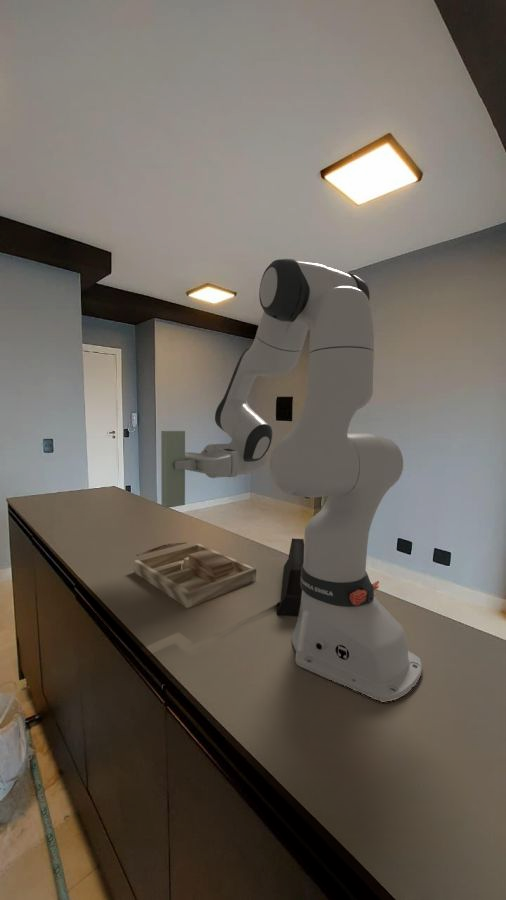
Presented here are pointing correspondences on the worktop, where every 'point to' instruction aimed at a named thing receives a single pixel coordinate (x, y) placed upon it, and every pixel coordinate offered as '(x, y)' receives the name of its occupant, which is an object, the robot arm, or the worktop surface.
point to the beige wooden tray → (189, 576)
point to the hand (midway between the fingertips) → (170, 464)
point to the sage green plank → (169, 476)
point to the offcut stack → (209, 566)
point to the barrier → (292, 581)
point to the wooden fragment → (161, 548)
